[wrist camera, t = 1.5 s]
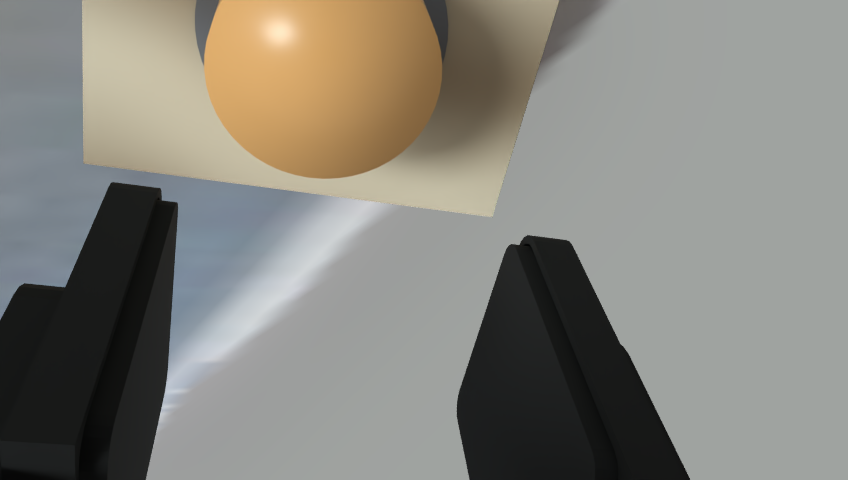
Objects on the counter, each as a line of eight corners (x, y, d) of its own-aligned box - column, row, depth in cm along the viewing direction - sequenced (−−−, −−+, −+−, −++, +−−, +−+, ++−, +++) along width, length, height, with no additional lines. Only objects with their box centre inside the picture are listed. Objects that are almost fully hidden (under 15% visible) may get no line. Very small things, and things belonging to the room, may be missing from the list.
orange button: (222, -90, 16) (213, -70, 15) (453, -43, 18) (466, -20, 16) (205, 127, 19) (195, 162, 18) (407, 156, 20) (415, 192, 19)
